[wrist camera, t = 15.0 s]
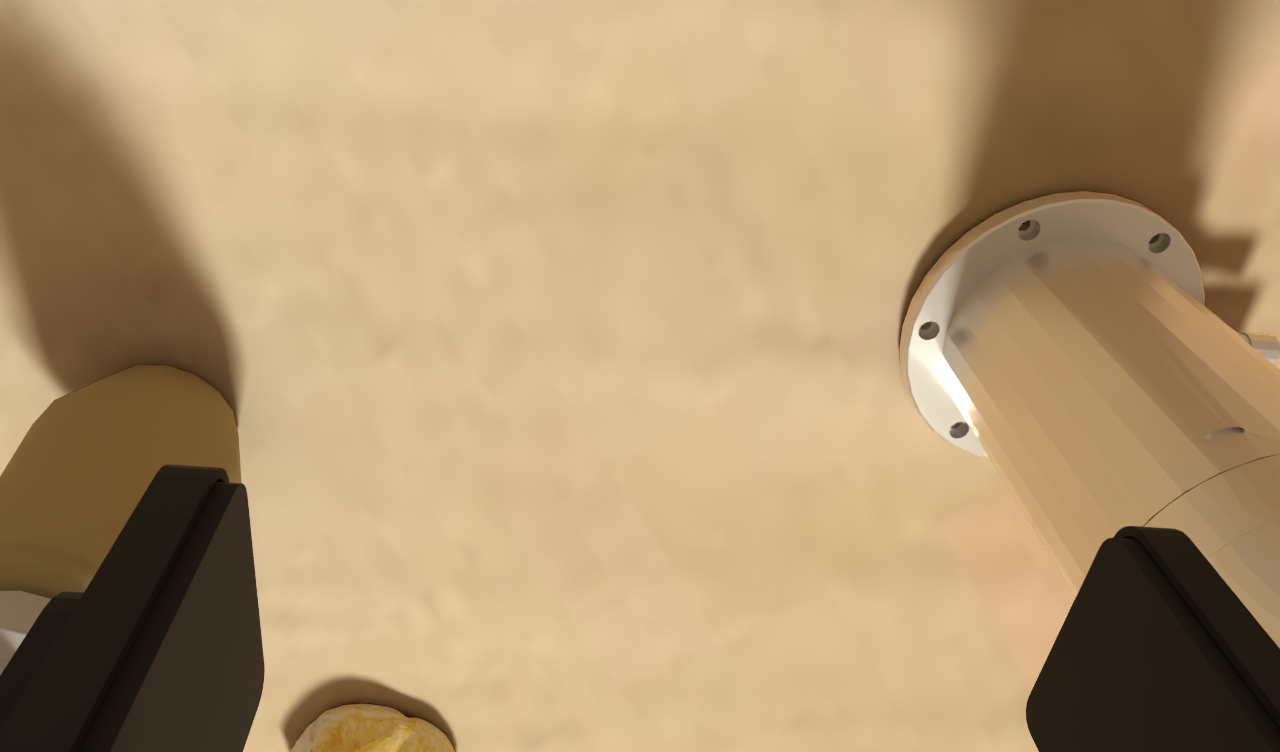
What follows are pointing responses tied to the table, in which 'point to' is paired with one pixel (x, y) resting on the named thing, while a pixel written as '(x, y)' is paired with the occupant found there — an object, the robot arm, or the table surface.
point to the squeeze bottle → (97, 479)
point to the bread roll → (370, 732)
